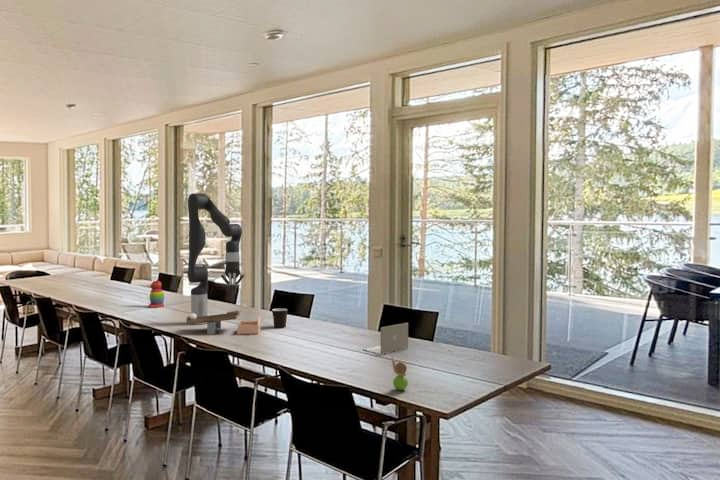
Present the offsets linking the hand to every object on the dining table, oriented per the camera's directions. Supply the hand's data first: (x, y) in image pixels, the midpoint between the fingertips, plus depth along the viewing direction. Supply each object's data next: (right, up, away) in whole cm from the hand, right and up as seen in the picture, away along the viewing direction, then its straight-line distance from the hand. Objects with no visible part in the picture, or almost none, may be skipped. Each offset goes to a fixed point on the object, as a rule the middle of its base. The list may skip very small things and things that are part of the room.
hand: (232, 291), depth 319 cm
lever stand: (-9, -21, -3) cm, 23 cm away
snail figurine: (+84, -27, -105) cm, 138 cm away
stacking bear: (-69, -17, +76) cm, 104 cm away
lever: (-9, -15, -4) cm, 18 cm away
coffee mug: (+25, -21, +9) cm, 34 cm away
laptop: (+82, -24, -43) cm, 96 cm away
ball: (-20, -13, -8) cm, 25 cm away
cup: (+10, -21, -6) cm, 24 cm away
